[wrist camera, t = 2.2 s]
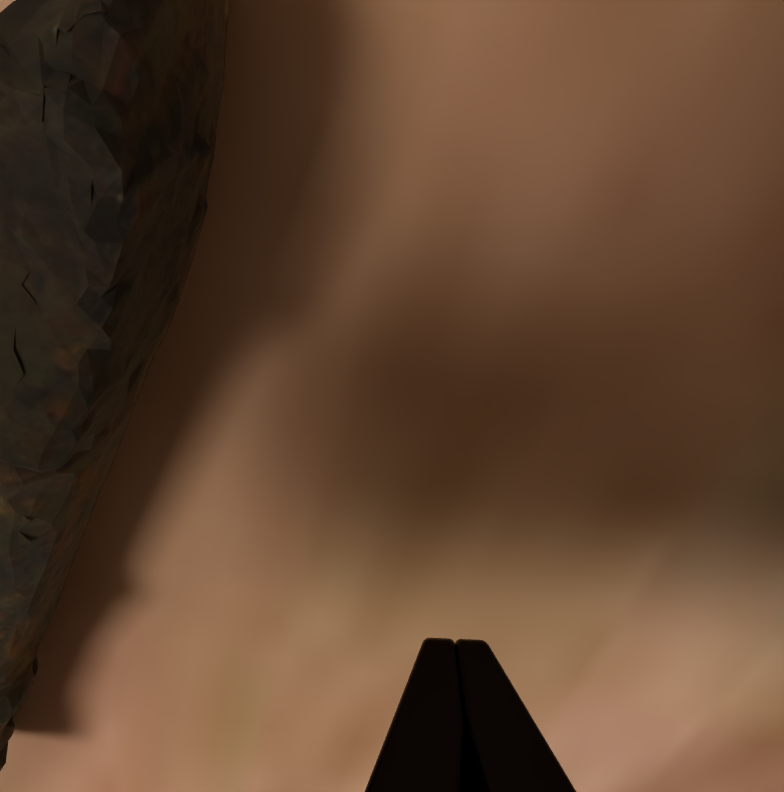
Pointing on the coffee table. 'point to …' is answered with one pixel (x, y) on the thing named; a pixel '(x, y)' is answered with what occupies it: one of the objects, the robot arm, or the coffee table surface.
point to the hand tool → (87, 264)
